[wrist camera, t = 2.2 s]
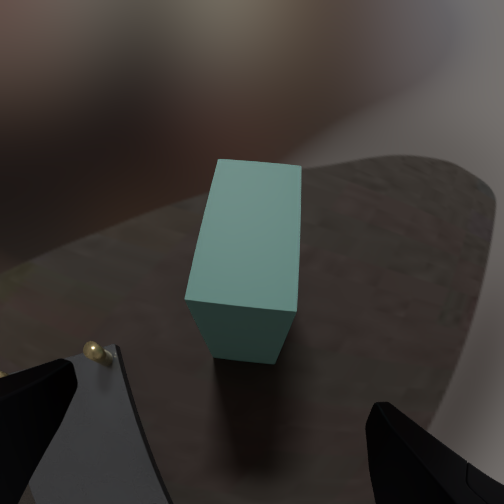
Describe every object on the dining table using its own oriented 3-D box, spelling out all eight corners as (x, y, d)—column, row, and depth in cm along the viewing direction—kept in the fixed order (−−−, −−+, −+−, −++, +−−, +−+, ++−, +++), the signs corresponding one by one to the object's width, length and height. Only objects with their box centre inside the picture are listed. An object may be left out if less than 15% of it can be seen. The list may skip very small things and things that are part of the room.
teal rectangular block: (274, 364, 21) (296, 311, 12) (213, 357, 22) (184, 299, 12) (282, 266, 26) (301, 166, 16) (228, 260, 26) (218, 158, 16)
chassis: (186, 531, 15) (176, 547, 12) (59, 540, 12) (36, 549, 9) (119, 347, 22) (100, 333, 19) (11, 377, 19) (-14, 367, 16)
